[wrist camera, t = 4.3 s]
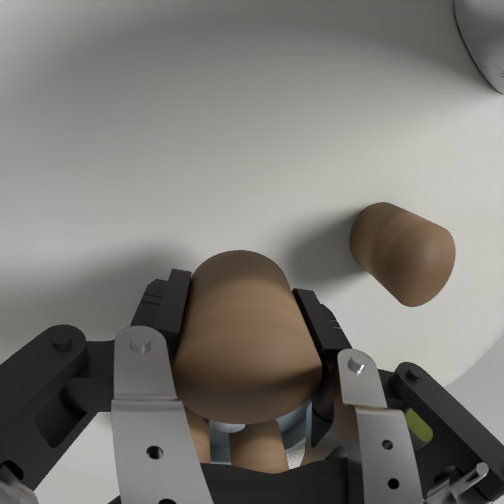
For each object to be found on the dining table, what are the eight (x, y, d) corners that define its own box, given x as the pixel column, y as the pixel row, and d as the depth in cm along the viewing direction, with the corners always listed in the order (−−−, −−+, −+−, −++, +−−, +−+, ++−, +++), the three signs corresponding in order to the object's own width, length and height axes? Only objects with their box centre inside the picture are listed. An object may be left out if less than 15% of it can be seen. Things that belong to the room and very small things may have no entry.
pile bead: (361, 194, 14) (411, 216, 10) (413, 211, 15) (464, 235, 10) (340, 263, 15) (379, 304, 11) (393, 271, 16) (435, 308, 12)
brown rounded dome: (194, 241, 10) (176, 316, 6) (301, 260, 10) (345, 336, 6) (182, 329, 11) (169, 416, 7) (273, 341, 12) (294, 425, 8)
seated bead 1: (154, 398, 16) (146, 451, 12) (211, 405, 17) (213, 459, 13) (156, 426, 18) (151, 473, 14) (206, 432, 18) (208, 480, 14)
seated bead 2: (232, 414, 18) (237, 466, 13) (284, 415, 18) (297, 463, 14) (224, 439, 19) (228, 484, 15) (271, 439, 20) (280, 482, 16)
